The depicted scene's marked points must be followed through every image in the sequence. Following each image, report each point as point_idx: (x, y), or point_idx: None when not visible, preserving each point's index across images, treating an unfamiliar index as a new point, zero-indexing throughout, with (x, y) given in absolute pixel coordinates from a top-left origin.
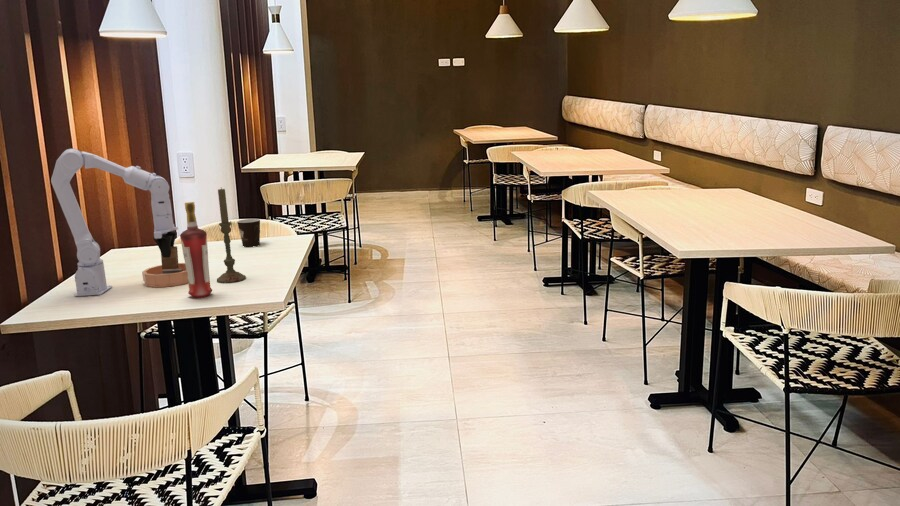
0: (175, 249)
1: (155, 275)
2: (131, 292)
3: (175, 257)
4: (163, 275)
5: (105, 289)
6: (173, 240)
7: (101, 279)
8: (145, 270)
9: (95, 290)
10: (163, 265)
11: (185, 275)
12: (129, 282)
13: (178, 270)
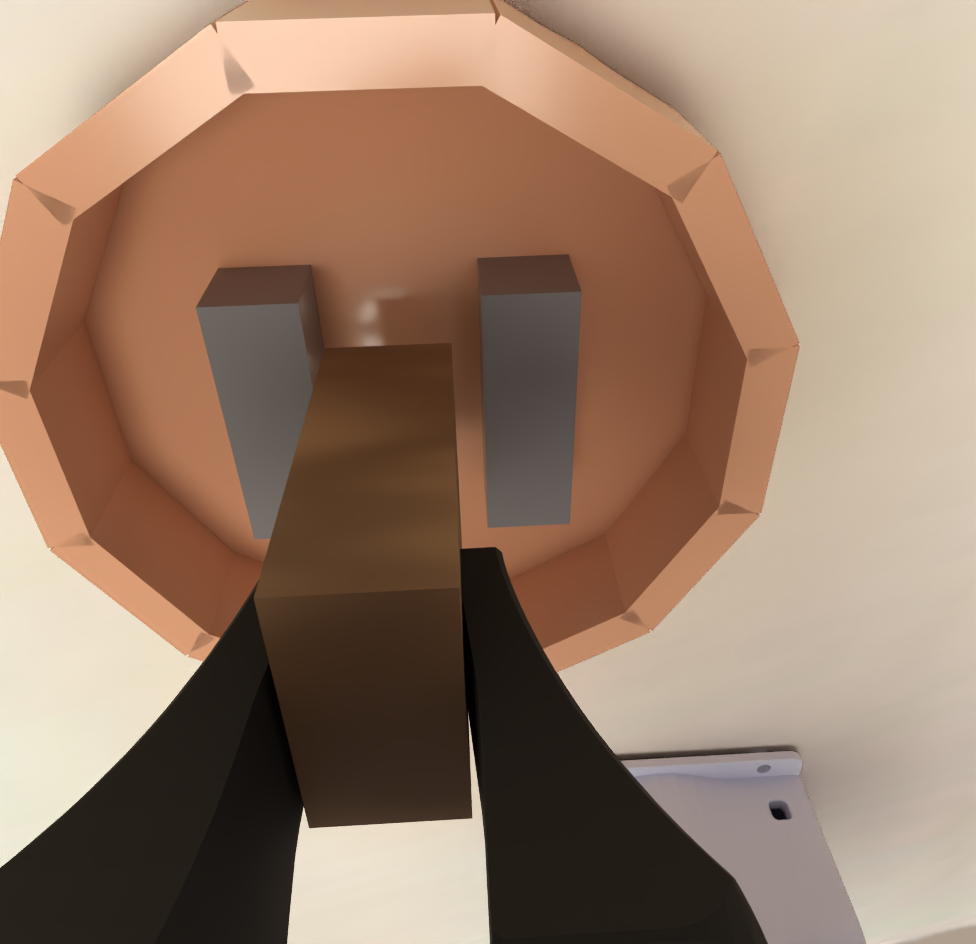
0: (420, 555)
1: (759, 505)
2: (809, 580)
3: (454, 450)
4: (781, 409)
5: (680, 771)
6: (223, 798)
7: (728, 866)
8: None
9: (807, 805)
10: (461, 547)
11: (656, 106)
12: None
13: (303, 339)
